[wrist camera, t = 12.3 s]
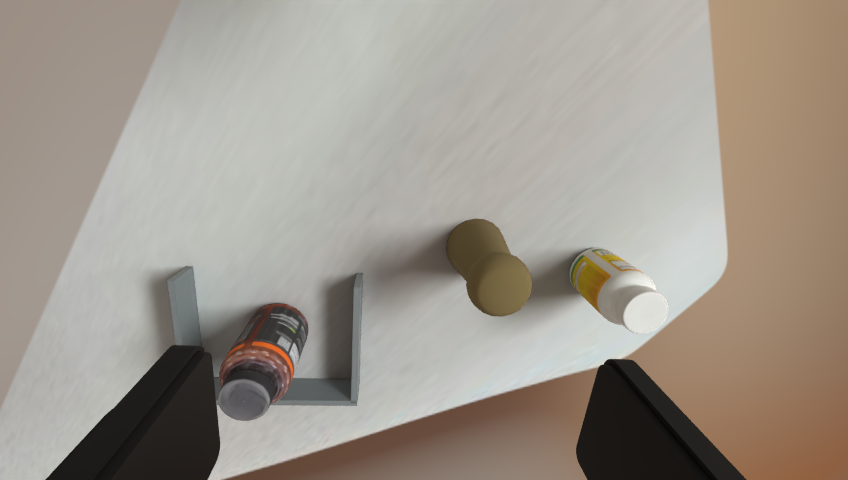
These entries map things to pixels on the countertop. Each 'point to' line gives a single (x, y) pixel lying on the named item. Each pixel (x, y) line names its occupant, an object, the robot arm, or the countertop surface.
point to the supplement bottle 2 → (618, 290)
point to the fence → (299, 389)
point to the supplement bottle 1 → (262, 362)
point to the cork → (489, 268)
